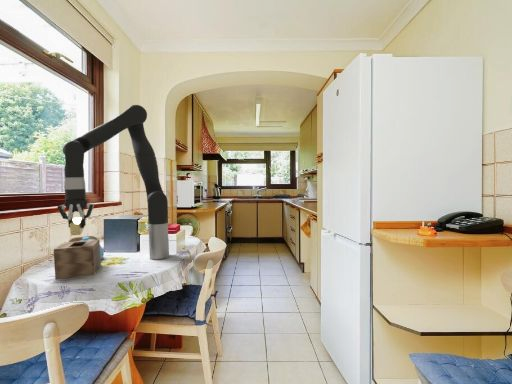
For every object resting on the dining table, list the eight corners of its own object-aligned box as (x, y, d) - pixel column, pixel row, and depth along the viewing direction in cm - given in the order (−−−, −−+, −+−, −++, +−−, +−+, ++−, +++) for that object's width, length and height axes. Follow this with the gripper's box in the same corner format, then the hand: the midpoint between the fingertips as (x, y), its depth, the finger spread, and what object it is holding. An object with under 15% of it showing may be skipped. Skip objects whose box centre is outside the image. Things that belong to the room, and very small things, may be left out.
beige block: (84, 227, 128) (82, 217, 127) (80, 234, 122) (79, 224, 121) (75, 228, 127) (73, 217, 126) (71, 235, 121) (69, 224, 120)
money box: (100, 264, 134) (99, 239, 133) (94, 274, 121) (92, 246, 120) (65, 268, 130) (64, 242, 129) (55, 278, 116) (53, 249, 116)
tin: (67, 253, 156) (66, 238, 156) (68, 252, 159) (67, 237, 159) (98, 250, 162) (98, 235, 162) (99, 249, 165) (98, 234, 165)
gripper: (95, 187, 129) (97, 225, 130) (58, 188, 125) (61, 227, 125) (91, 187, 122) (93, 228, 123) (52, 189, 117) (55, 230, 118)
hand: (77, 227), depth 124 cm, fingers closed on beige block, 3 cm apart
